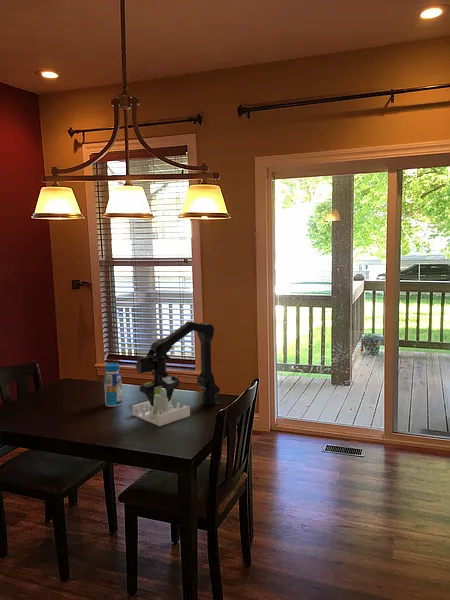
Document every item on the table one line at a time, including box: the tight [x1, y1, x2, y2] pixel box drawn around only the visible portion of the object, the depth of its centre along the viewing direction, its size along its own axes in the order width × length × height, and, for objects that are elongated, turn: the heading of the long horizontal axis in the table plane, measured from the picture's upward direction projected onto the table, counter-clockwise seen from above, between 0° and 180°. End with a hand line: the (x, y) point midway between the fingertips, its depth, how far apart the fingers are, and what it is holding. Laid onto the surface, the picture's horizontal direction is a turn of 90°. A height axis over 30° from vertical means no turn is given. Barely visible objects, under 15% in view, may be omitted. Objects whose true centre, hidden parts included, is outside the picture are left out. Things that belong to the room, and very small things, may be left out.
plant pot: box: [145, 381, 163, 401], centre depth 236 cm, size 9×9×9 cm
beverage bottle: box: [103, 362, 123, 408], centre depth 232 cm, size 8×8×20 cm
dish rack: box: [132, 399, 191, 427], centre depth 216 cm, size 17×20×4 cm
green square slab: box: [154, 394, 169, 414], centre depth 215 cm, size 2×8×8 cm, turn 45°
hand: (160, 403), depth 215 cm, fingers open, 9 cm apart
